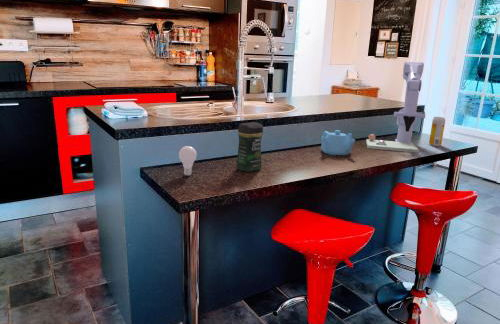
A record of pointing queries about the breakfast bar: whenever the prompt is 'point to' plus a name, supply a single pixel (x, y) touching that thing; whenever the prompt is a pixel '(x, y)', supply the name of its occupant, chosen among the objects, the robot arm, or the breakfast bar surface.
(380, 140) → the steel ball
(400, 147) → the hole plate
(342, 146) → the teapot
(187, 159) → the lightbulb
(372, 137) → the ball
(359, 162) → the breakfast bar surface
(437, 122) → the beer can
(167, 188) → the breakfast bar surface
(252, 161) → the coffee jar
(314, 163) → the breakfast bar surface
